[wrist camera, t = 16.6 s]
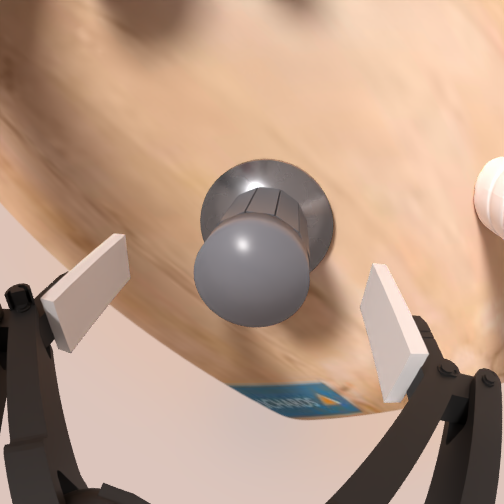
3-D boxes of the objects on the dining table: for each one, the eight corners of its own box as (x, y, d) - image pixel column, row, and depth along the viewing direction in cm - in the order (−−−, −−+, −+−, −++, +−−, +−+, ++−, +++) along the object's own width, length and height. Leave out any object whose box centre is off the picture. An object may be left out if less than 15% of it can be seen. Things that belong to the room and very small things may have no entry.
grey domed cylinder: (211, 234, 24) (174, 287, 17) (255, 171, 21) (233, 200, 14) (274, 277, 25) (263, 343, 18) (322, 220, 22) (334, 272, 15)
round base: (180, 236, 25) (150, 270, 20) (249, 132, 21) (232, 137, 16) (280, 302, 26) (274, 349, 21) (358, 213, 22) (377, 244, 17)
